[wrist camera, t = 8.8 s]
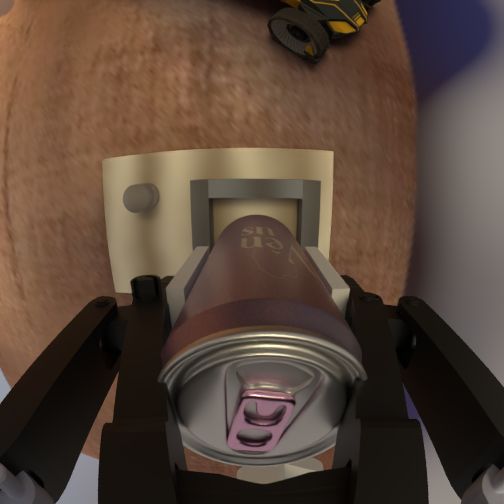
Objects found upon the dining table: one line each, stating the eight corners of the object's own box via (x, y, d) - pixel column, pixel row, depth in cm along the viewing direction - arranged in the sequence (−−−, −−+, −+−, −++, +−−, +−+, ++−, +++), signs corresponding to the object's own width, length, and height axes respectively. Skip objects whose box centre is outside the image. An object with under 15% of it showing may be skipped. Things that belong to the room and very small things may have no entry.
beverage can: (210, 282, 21) (151, 452, 6) (223, 205, 19) (144, 296, 5) (285, 296, 21) (326, 470, 7) (304, 222, 20) (416, 338, 5)
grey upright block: (279, 456, 39) (286, 546, 20) (238, 442, 38) (233, 542, 19) (316, 433, 37) (335, 533, 18) (274, 417, 36) (281, 533, 16)
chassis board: (126, 281, 29) (103, 304, 24) (116, 159, 26) (86, 158, 20) (318, 284, 29) (332, 309, 24) (324, 153, 26) (343, 148, 20)
